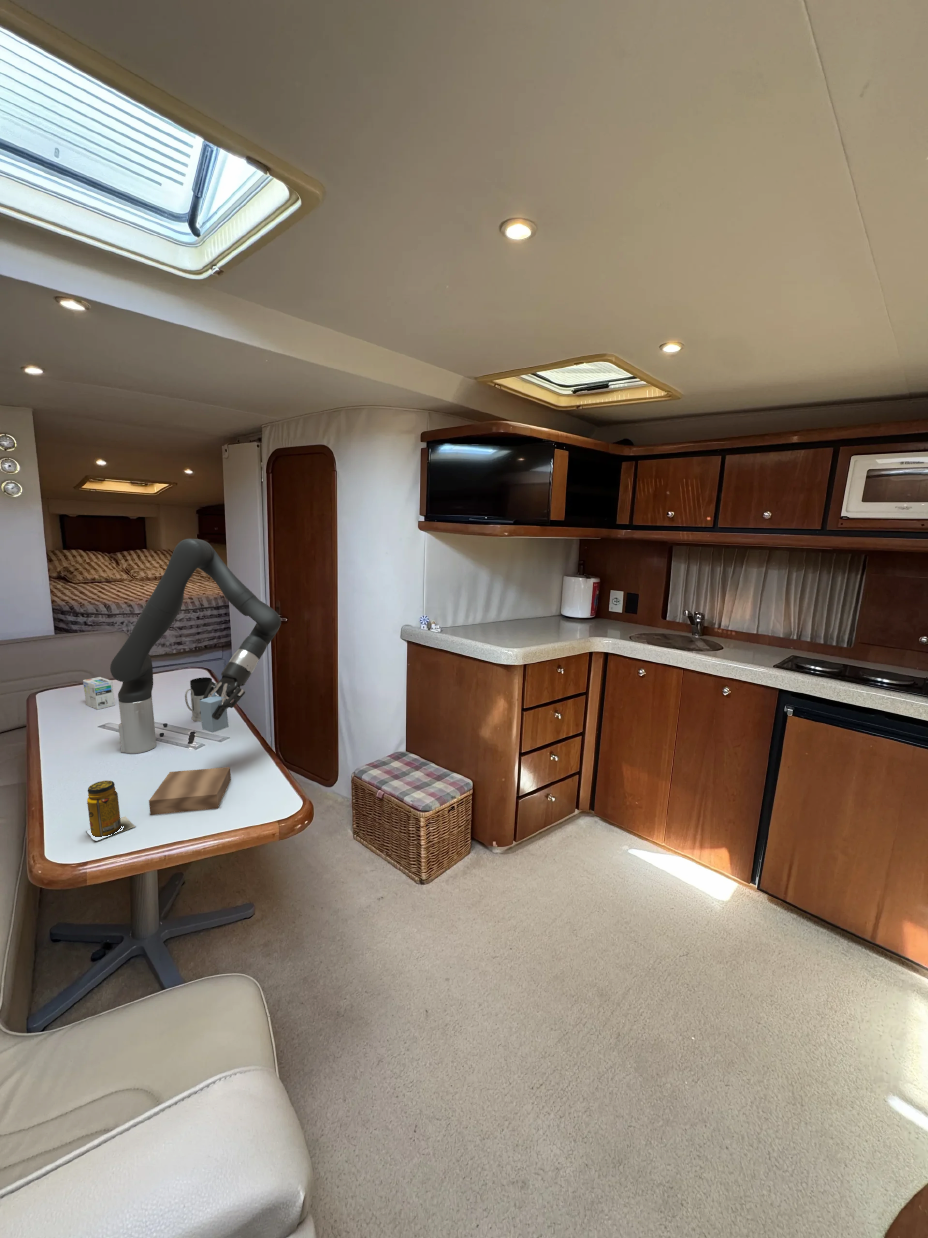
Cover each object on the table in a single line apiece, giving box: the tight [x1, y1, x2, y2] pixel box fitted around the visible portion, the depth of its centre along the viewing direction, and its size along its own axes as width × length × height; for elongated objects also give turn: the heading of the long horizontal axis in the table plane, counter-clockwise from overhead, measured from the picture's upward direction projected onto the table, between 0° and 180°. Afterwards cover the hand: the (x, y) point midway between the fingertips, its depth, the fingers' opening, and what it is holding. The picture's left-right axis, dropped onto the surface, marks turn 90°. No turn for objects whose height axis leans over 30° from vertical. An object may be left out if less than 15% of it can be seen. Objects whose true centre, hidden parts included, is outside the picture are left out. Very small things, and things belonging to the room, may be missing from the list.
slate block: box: [199, 695, 229, 734], centre depth 151 cm, size 5×5×9 cm
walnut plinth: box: [148, 766, 232, 816], centre depth 140 cm, size 16×16×4 cm
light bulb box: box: [82, 676, 116, 710], centre depth 209 cm, size 11×7×11 cm, turn 58°
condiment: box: [86, 780, 136, 837], centre depth 124 cm, size 7×8×12 cm
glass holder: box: [184, 676, 213, 722], centre depth 195 cm, size 9×14×15 cm, turn 174°
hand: (208, 716), depth 149 cm, fingers closed on slate block, 5 cm apart
